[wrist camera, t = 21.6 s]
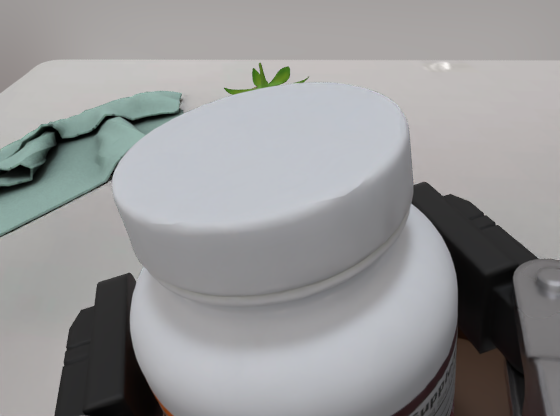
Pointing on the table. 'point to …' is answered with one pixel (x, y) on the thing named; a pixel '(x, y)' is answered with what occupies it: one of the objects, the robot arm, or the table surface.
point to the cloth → (75, 154)
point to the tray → (478, 381)
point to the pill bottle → (288, 260)
